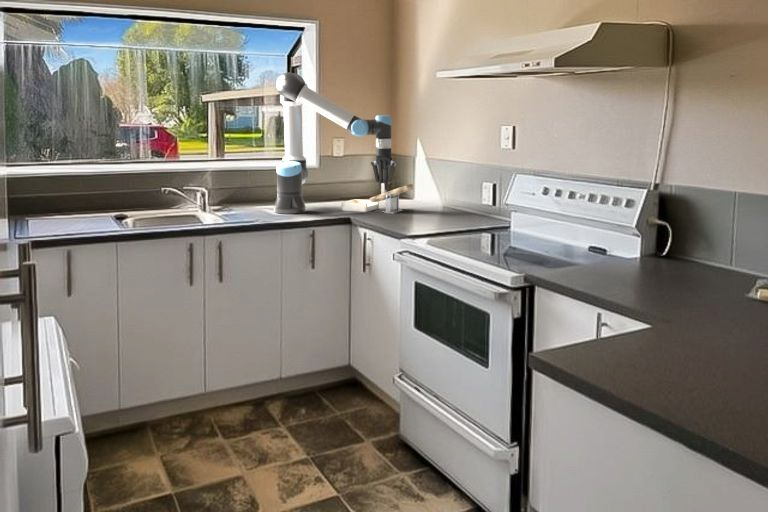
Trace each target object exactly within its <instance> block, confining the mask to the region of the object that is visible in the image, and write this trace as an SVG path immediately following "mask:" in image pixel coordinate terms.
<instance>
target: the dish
mask: <svg viewBox="0 0 768 512" xmlns="http://www.w3.org/2000/svg"><path fill="white" fill-rule="evenodd" d="M352 201H356V202H357V203H351V202H352ZM379 202H380V201H378V202H374V203H372V202H371V201H370V199H358V198H354V199H350V200H347V201H346V200H345V201H342V202H341V211H342V212H343V211H344V212H345V211H346V212H360V213H368V212H372V211H375V210H379V204H380V203H379Z"/></svg>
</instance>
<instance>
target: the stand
mask: <svg viewBox="0 0 768 512" xmlns="http://www.w3.org/2000/svg"><path fill="white" fill-rule="evenodd" d="M399 208H400V194H398V195H395V196H392V197H391V193H386V199H385V210H382V211H381V213H382V212H384V213H383V214H396V212H397V213H400V212H403V209H402V208H400V209H399Z"/></svg>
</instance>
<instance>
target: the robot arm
mask: <svg viewBox="0 0 768 512" xmlns="http://www.w3.org/2000/svg"><path fill="white" fill-rule="evenodd" d="M275 83H276V84H275V87H276V90H277V92H278V94H280V95H279V100H280V102H279V103H280V104H281V105H282V106H283V123H284V124H283V125H284V128H283V129H284V157H283V158H282V159H281V160H282V161H281V162H279V163H277V164H276V170H275V171H276V192H277V193H276V195H277V196H276V199H275V202H274V205H273V213H276V214H285V215H286V214H288V215H289V214H292V215H293V214H303V213H306V212H307V207H306V203H305V199H304V198H303V184H305V183H306V181H307V180H308V178H309V171H308V168H307V158H306V157H305V156H304V154H303V153H304V149H303V148H304V147H303V142H304V141H303V116H302V115H303V113H302V112H303V111H302V107H303V105H305V106H306V107H308V108H310V109H311V110H313V111H314V112H317V113H318V114H320V115H321V116H323V117H325V118H326V119H328V120H330V121H331V122H334V123H335V124H337V125H338V126H340V127H342V128H344V129H346V130H347V131H349V132H350V134H351V135H352V136H355V137H359V138H361V137H365V136H375V158H374V161H371V162H370V164H371V166H372V169H373V173H374V179H375V182H376V183H377V182H378V183H379V190H380V192H381V193H380V194H383V193H386V192H387V191H388V190H389V183H391V182H392V181H393V177H394V172H395V167H396V165H397V162H395V161H393V159H392V116H391V115H389V114H388V115H386V114H385V115H384V114H383V115H382V114H381V115H379V114H378V115H375V118H374V119H362V118H360V117H358V116H357V115H355V114H353V113H352V112H350V111H348V110H347V109H345V108H343V107H341V106H340V105H337V103H334V102H333V101H331V100H329V99H328V98H326V97H325V96H323V95H321V94H320V93H317V92H316V91H315V90H312V89H311V88H309V87H308V84H307V83H306V81H305V80H304V79H303V77H302V76H301V75H300V74H298V73H293V72H283V73H282V74H280V75H279V76H278V77H277V79H276V82H275ZM389 166H390V167H389Z"/></svg>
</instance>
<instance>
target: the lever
mask: <svg viewBox="0 0 768 512" xmlns="http://www.w3.org/2000/svg"><path fill="white" fill-rule="evenodd" d="M412 190H414V185H413V183H410V184H406V185H403V186H400V187H398V188H394V189H392V190H389V191H388V190H387V191H386V193H391V197H394V196H395V195H398V194H399V195H401V194H403V193H405V192H409V191H412ZM386 193H383V194H381V193H380V194H377V195H374V196H371V197H369V200H370V201H371V202H372V203H374V202H378V201H379V202H382V201H384V200H385V201H386Z"/></svg>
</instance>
